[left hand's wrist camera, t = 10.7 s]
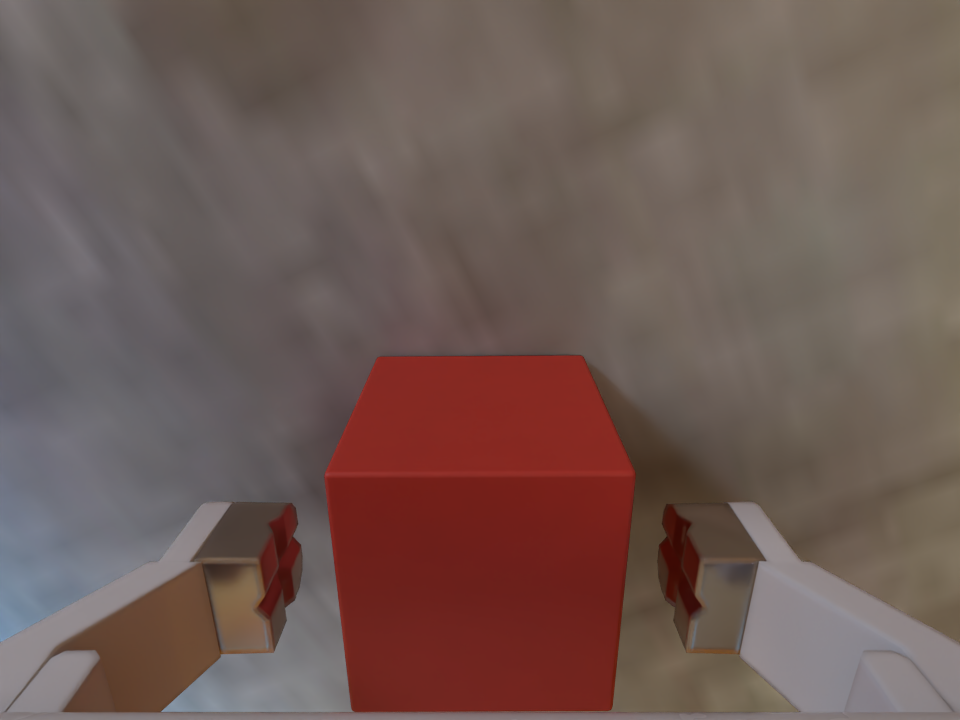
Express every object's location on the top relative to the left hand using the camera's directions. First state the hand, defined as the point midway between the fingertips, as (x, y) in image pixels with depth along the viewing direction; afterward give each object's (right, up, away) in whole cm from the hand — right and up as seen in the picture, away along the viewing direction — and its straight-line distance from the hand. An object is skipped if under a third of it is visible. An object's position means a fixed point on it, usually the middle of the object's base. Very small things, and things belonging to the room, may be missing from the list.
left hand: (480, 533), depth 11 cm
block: (0, +1, +3) cm, 3 cm away
